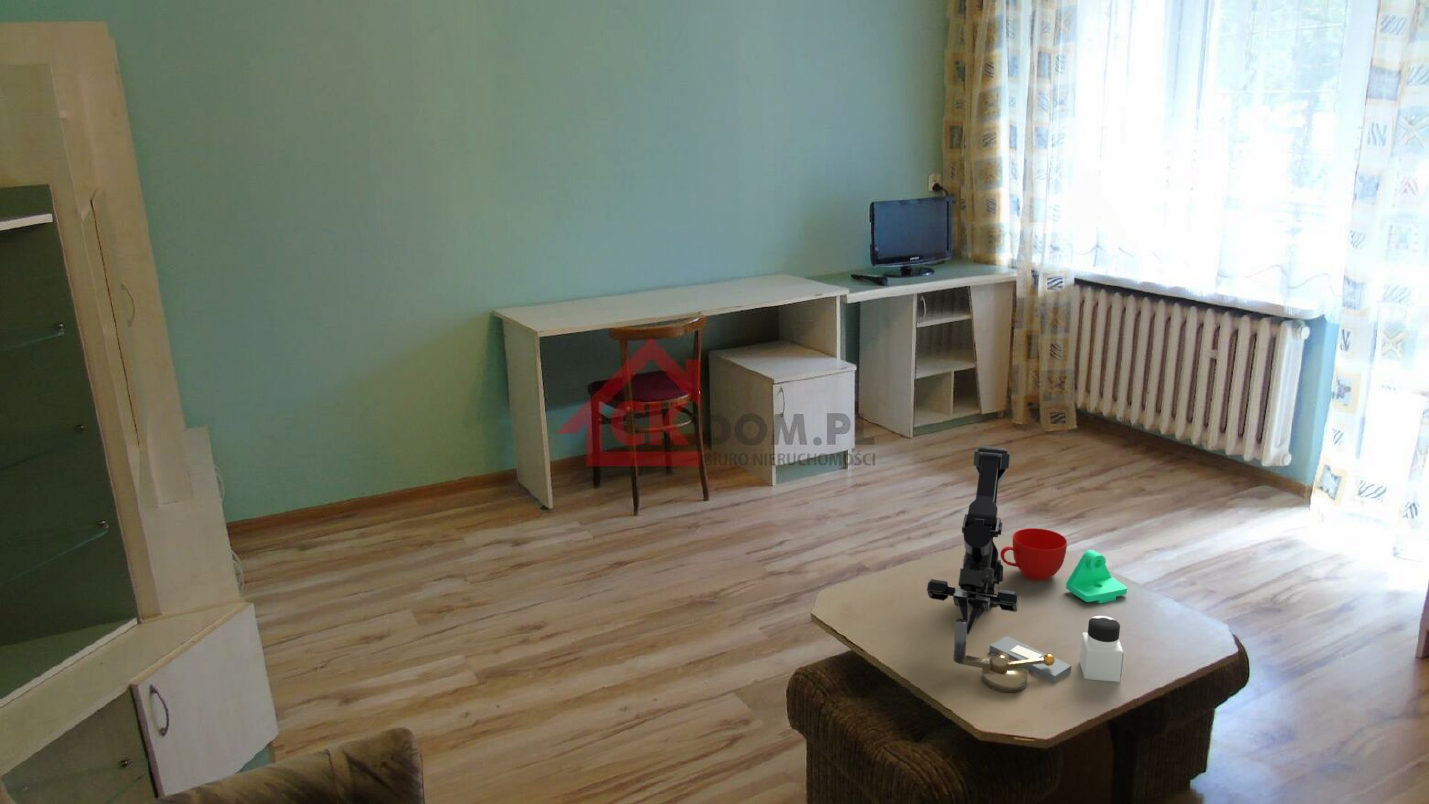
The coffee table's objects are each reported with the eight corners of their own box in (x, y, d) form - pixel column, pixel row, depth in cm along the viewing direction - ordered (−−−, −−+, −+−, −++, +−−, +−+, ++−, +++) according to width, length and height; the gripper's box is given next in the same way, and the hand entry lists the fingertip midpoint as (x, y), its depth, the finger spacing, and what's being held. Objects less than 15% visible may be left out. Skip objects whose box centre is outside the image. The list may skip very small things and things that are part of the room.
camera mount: (1086, 606, 235) (1090, 567, 232) (1065, 592, 241) (1068, 553, 239) (1128, 597, 238) (1132, 558, 235) (1106, 584, 245) (1110, 546, 242)
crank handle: (1053, 670, 208) (1058, 620, 204) (1049, 700, 198) (1054, 648, 194) (958, 653, 215) (960, 605, 212) (949, 681, 205) (952, 631, 201)
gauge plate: (989, 651, 216) (990, 644, 216) (1006, 641, 220) (1006, 635, 219) (1054, 682, 204) (1055, 675, 204) (1071, 671, 208) (1071, 664, 207)
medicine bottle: (1120, 682, 204) (1126, 630, 200) (1084, 679, 205) (1089, 627, 201) (1114, 664, 210) (1119, 613, 207) (1079, 661, 212) (1083, 610, 208)
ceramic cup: (986, 569, 254) (988, 533, 251) (1045, 561, 258) (1048, 525, 255) (1012, 592, 242) (1015, 554, 239) (1074, 583, 246) (1078, 546, 243)
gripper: (930, 545, 214) (918, 614, 207) (1020, 557, 207) (1011, 630, 201) (935, 563, 223) (924, 630, 217) (1021, 575, 216) (1012, 645, 210)
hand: (966, 633), depth 211 cm, fingers closed
